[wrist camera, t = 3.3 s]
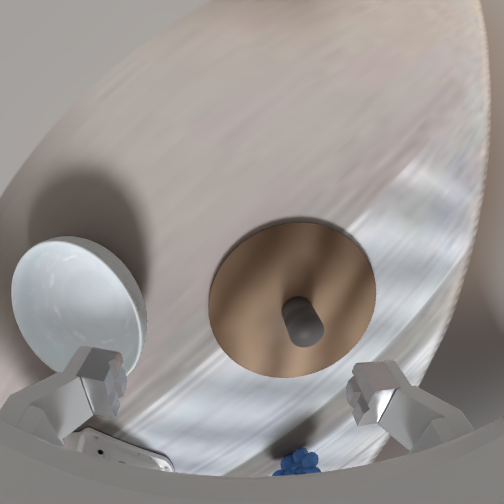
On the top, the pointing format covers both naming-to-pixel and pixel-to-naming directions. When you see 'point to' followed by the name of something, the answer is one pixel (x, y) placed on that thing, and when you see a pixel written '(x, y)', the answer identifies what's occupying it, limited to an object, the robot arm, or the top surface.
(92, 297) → the cereal bowl
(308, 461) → the grapes
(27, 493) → the robot arm
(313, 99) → the top surface
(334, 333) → the lid
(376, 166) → the top surface
